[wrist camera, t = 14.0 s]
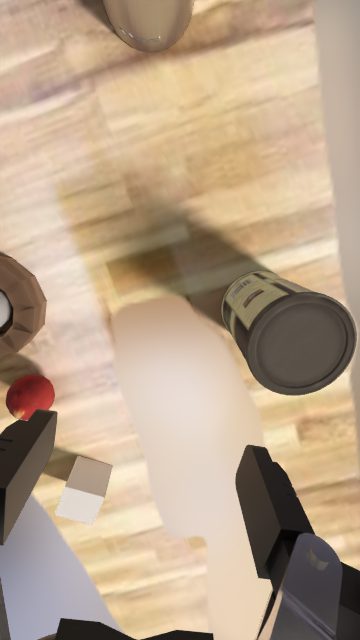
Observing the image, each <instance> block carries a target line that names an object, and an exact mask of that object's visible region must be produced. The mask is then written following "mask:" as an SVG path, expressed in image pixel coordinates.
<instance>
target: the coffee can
mask: <svg viewBox="0 0 360 640" xmlns="http://www.w3.org/2000/svg"><path fill="white" fill-rule="evenodd" d="M221 313H222V318H223V321H224V324H225V326H226V327H227V329H228V330H229V331H230V333H231V335H232V336H233V338H234V340H235V341H236V343H237V345H238V347H239V349H240V350H241V352H242V354H243V356H244V358H245V359H246V361H247V364H248V366H249V369H250V371H251V372H252V374H253V376H254V377H255V379H256V380H257V381H258V382H259V383H260V384H261V385H263V386H264V387H265V388H267V389H269V390H271V391H273V392H276V393H279V394H284V395H305V394H309V393H312V392H316V391H318V390H320V389H322V388H324V387H326V386H327V385H329V384H331V383H332V382H333V381H335V380H336V379H337V378H338V377H339V376H340V375H341V374H342V373H343V372H344V370H345V369H346V367H347V366H348V365H349V363H350V361H351V359H352V357H353V354H354V351H355V347H356V342H357V332H356V326H355V323H354V320H353V318H352V316H351V314H350V313H349V311H348V310H347V309H346V308H345V307H344V306H343V305H342V304H341V303H340V302H338V301H337V300H335V299H333V298H331V297H329V296H327V295H324V294H320V293H316V292H313V291H311V290H309V289H307V288H304V287H302V286H300V285H297V284H295V283H293V282H290V281H288V280H286V279H284V278H281V277H280V276H278V275H276V274H274V273H271V272H266V271H256V272H251V273H248V274H245V275H243V276H241V277H240V278H238V279H237V280H236V281H235V282H233V283H232V284H231V286H230V287H229V288H228V290H227V291H226V293H225V295H224V297H223V301H222V307H221Z"/></svg>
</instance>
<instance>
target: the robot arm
mask: <svg viewBox="0 0 360 640" xmlns="http://www.w3.org/2000/svg"><path fill="white" fill-rule="evenodd" d="M103 3H104V6H105V10H106V13H107V15H108V18H109V20H110V23H111V25H112V26H113V28H114V30H115V31H116V33H117V34H118V35H119V36H120V37H121V39H122V40H123V41H124V42H126V43H127V44H128V45H130V46H131V47H133V48H135V49H138V50H140V51H145V52H158V51H161V50H164V49H167V48H168V47H170V46H171V45H173V44H174V43H176V41H177V40H178V39H179V38H180V37H181V36H182V35H183V33H184V31H185V30H186V28H187V26H188V24H189V21H190V18H191V15H192V10H193V5H194V0H103ZM56 424H57V412H56V411H50V410H44V409H36V410H35V412H34V413H33V414H32V416H31V417H30V418H29V420H28V421H26V420H20V419H19V420H18V421H16V422H14V423H13V424H11V425H10V426H8V427H6V428H5V430H4V431H3V432H2V433H1V434H0V545H4V543H5V541H6V539H7V537H8V535H9V533H10V531H11V529H12V528H13V526H14V524H15V522H16V520H17V518H18V516H19V514H20V513H21V511H22V509H23V507H24V505H25V503H26V501H27V499H28V498H29V496H30V494H31V492H32V490H33V488H34V486H35V484H36V483H37V481H38V479H39V477H40V475H41V473H42V471H43V469H44V467H45V466H46V464H47V462H48V460H49V458H50V456H51V453H52V450H53V446H54V441H55V432H56ZM236 490H237V493H238V498H239V502H240V506H241V509H242V514H243V518H244V522H245V526H246V530H247V534H248V538H249V542H250V546H251V550H252V554H253V558H254V562H255V566H256V570H257V574H258V578H263V579H270V580H271V584H272V587H273V589H272V591H271V593H270V595H269V598H268V601H267V604H266V607H265V610H264V613H263V616H262V619H261V622H260V625H259V628H258V631H257V634H256V637H255V640H360V571H359V570H357V569H355V568H353V567H351V566H349V565H346V564H344V563H342V562H341V561H340V560H339V557H338V556H337V554H336V553H335V551H334V550H333V549H332V548H331V546H330V545H329V544H327V543H326V542H325V541H324V540H323V539H321V538H320V537H318V536H316V535H315V533H314V531H313V529H312V527H311V525H310V522H309V520H308V518H307V516H306V514H305V512H304V510H303V507H302V505H301V503H300V501H299V499H298V497H296V493H295V490H294V488H293V487H292V484H291V482H290V480H289V478H288V475H287V473H286V472H285V471H284V470H283V469H282V468H281V466H280V465H279V464H278V463H277V462H272V459H271V457H270V455H269V453H268V450H267V449H266V448H265V447H260V446H254V445H247V446H246V448H245V450H244V454H243V456H242V459H241V462H240V464H239V467H238V470H237V473H236ZM0 640H11V639H10V633H9V627H8V621H7V615H6V609H5V603H4V597H3V591H2V585H1V579H0ZM38 640H136V639H133V638H131V637H129V636H127V635H125V634H123V633H121V632H119V631H117V630H115V629H113V628H111V627H109V626H107V625H104V624H102V623H100V622H94V621H83V620H73V619H64V618H61V620H60V623H59V627H58V630H57V633H56V634H52V635H48V636H46V637H43V638H41V639H38ZM142 640H214V639H213V633H203V632H193V631H183V630H175V631H171V632H168V633H164V634H160V635H156V636H153V637H149V638H145V639H142Z"/></svg>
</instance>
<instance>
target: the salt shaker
mask: <svg viewBox="0 0 360 640" xmlns="http://www.w3.org/2000/svg"><path fill="white" fill-rule="evenodd" d="M11 314H12V304H11V302H10V300H9V298H8V296H7V295H6V293H5V292H4V291H3V290H2V289H0V327H2V326H3V325H4V324H5V323H6V322H7V321H8V320H9V319H10V317H11Z"/></svg>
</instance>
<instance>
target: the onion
mask: <svg viewBox="0 0 360 640" xmlns="http://www.w3.org/2000/svg"><path fill="white" fill-rule="evenodd" d="M54 397H55V393H54V388H53V385H52V384H51V382H50V381H49V380H48V379H47V378H45V377H44V376H41V375H26V376H24V377H21V378H19V379H18V380H16V381H15V382H14V383H13V384H12V386H11V387H10V388H9V390H8V392H7V397H6V406H7V408H8V410H9V412H10V413H11V414H12V415H13V416H14V417H15V418H17V419H22V420H29V418H30V417H31V416H32V414H33V413H34V412H35V410H36V409H44V410H49V408H50V407H51V406H52V404H53V402H54Z"/></svg>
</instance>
